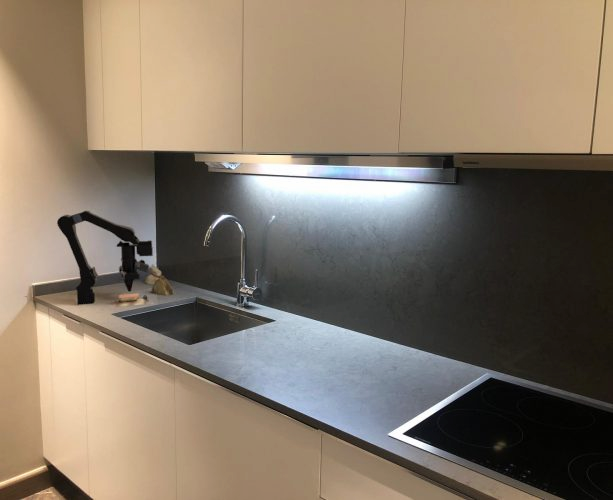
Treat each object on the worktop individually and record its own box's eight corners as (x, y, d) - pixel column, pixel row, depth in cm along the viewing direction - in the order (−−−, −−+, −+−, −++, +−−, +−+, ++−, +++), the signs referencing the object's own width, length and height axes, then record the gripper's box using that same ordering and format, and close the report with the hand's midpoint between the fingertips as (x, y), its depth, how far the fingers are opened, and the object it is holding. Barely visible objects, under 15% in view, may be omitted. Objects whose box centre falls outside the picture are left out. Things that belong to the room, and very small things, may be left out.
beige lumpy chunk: (155, 285, 276) (154, 265, 274) (143, 283, 280) (142, 264, 278) (162, 283, 281) (162, 264, 279) (151, 281, 284) (150, 262, 283)
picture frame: (118, 302, 241) (119, 298, 235) (117, 298, 241) (119, 294, 235) (137, 300, 244) (138, 296, 238) (136, 297, 245) (138, 293, 239)
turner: (145, 303, 238) (145, 301, 238) (141, 297, 249) (141, 295, 248) (152, 303, 240) (152, 300, 239) (148, 297, 250) (148, 294, 250)
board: (114, 308, 233) (114, 306, 233) (111, 302, 242) (111, 301, 242) (152, 304, 240) (152, 303, 240) (148, 299, 249) (148, 298, 248)
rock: (144, 289, 258) (152, 290, 250) (154, 273, 260) (162, 274, 252) (163, 300, 263) (171, 302, 255) (172, 285, 266) (181, 286, 258)
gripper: (151, 259, 235) (152, 294, 238) (143, 252, 252) (144, 285, 254) (124, 260, 230) (125, 296, 233) (118, 253, 247) (119, 287, 250)
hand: (129, 291), depth 243 cm, fingers closed
